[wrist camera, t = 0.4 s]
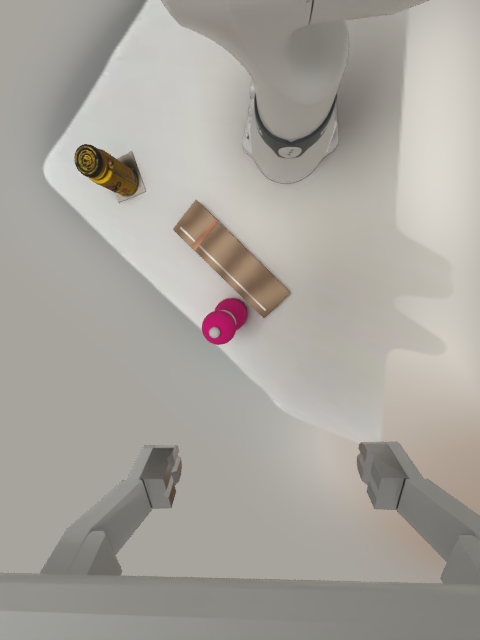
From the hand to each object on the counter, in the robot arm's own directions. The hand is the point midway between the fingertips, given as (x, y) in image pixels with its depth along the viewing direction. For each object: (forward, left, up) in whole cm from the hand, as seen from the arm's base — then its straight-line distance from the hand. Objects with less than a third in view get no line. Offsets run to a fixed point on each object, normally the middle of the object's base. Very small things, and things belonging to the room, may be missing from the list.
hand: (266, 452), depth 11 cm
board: (-9, -10, -46) cm, 48 cm away
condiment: (-26, -35, -47) cm, 64 cm away
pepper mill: (+3, -9, -47) cm, 47 cm away
